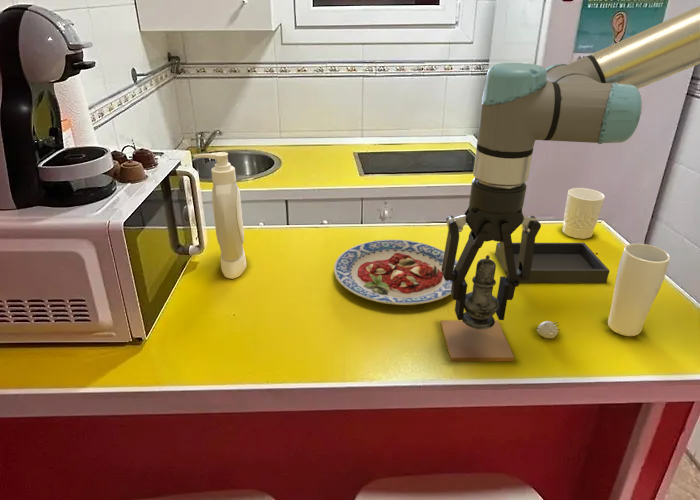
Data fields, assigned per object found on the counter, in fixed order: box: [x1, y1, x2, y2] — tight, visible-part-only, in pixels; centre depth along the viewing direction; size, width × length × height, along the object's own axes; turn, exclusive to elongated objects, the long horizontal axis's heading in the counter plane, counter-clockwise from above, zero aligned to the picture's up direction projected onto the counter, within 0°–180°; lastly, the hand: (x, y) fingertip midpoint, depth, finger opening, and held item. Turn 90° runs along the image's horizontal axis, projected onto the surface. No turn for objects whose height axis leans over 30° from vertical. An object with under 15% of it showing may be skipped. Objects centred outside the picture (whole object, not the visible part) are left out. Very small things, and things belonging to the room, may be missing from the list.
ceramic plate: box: [333, 239, 458, 306], centre depth 104 cm, size 26×26×3 cm
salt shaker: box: [461, 254, 500, 329], centre depth 82 cm, size 6×6×12 cm
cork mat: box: [440, 320, 515, 362], centre depth 86 cm, size 10×10×1 cm
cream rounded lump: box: [535, 320, 561, 339], centre depth 88 cm, size 3×4×3 cm
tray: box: [494, 242, 611, 284], centre depth 108 cm, size 19×12×3 cm, turn 91°
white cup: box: [561, 187, 606, 240], centre depth 122 cm, size 8×8×10 cm
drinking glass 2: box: [607, 242, 671, 337], centre depth 87 cm, size 7×7×15 cm
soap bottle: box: [193, 151, 248, 280], centre depth 102 cm, size 13×8×24 cm, turn 7°
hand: (478, 315), depth 84 cm, fingers closed on salt shaker, 6 cm apart
